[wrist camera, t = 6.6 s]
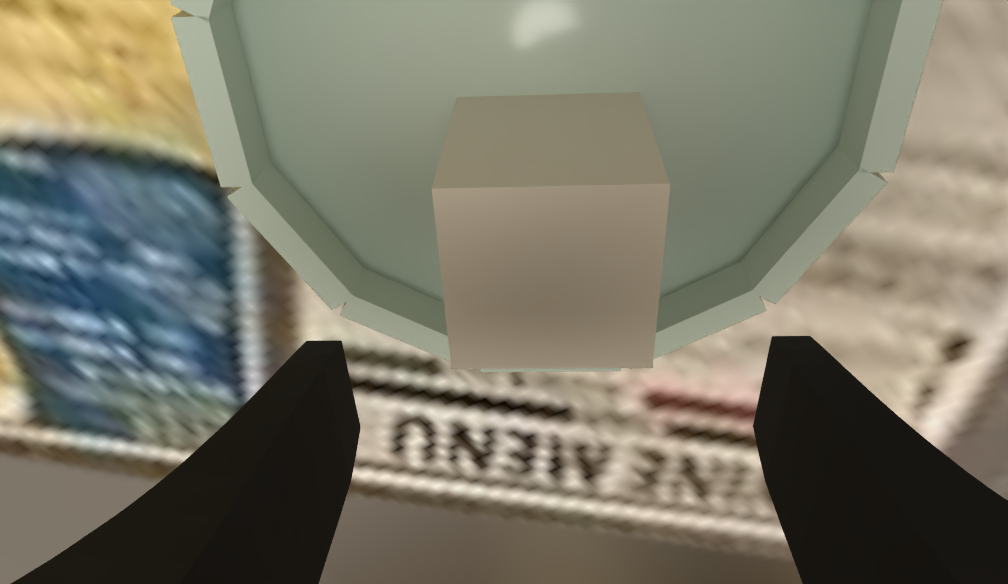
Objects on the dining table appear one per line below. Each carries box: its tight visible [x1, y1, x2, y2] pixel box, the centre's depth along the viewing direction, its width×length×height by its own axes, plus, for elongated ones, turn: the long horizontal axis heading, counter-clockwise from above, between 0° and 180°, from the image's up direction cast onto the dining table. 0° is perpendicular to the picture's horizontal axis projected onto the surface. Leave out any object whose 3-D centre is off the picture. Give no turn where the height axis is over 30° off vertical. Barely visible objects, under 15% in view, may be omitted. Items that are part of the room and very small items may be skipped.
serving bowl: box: [170, 0, 943, 372], centre depth 17 cm, size 16×16×2 cm
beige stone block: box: [432, 92, 670, 369], centre depth 17 cm, size 4×4×5 cm
